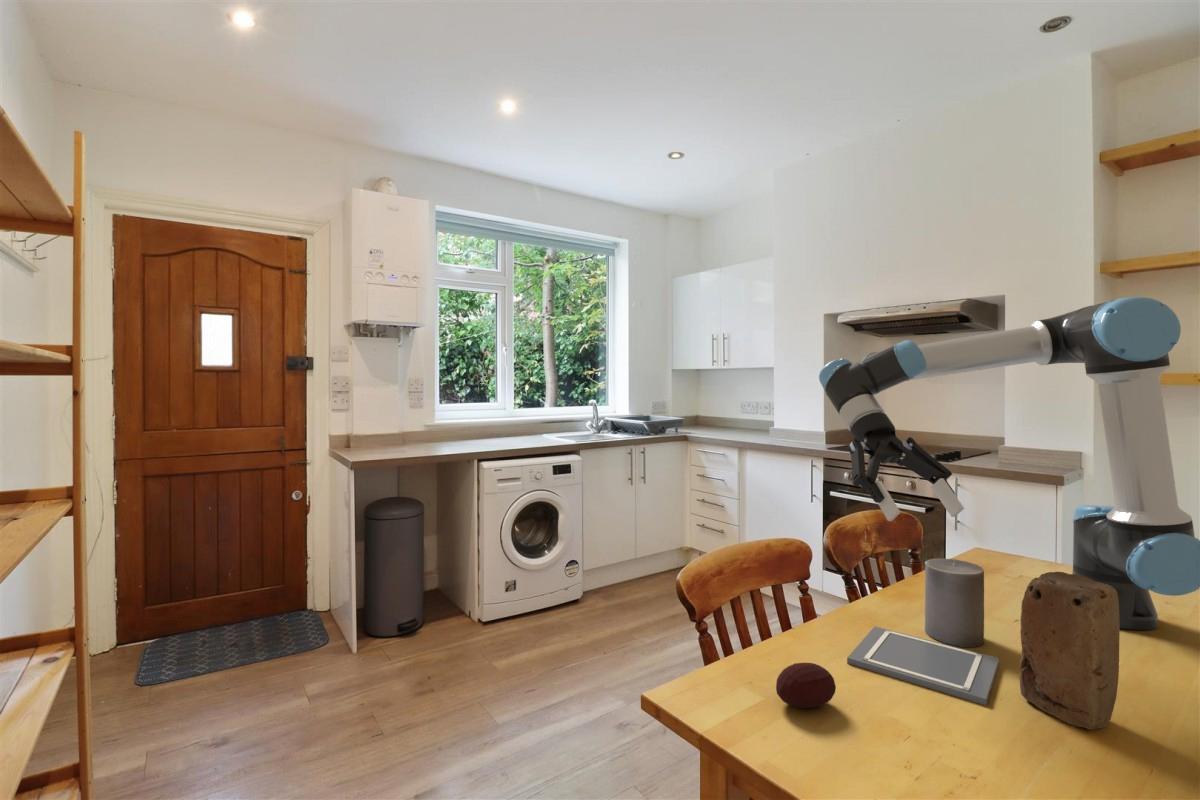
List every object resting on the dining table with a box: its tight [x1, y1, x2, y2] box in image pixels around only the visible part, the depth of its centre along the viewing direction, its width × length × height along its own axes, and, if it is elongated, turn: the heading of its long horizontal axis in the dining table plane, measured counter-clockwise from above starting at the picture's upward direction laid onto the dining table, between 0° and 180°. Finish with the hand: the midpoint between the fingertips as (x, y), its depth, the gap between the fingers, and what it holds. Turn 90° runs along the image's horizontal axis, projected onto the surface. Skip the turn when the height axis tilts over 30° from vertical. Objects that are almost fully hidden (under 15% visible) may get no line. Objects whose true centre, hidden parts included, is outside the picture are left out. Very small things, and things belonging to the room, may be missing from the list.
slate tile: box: [846, 625, 1000, 706], centre depth 99 cm, size 20×17×1 cm
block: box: [1019, 571, 1121, 731], centre depth 84 cm, size 11×8×20 cm
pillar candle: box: [924, 558, 985, 648], centre depth 110 cm, size 10×10×15 cm
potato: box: [775, 662, 837, 709], centre depth 86 cm, size 8×9×6 cm
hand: (926, 515), depth 100 cm, fingers open, 13 cm apart
